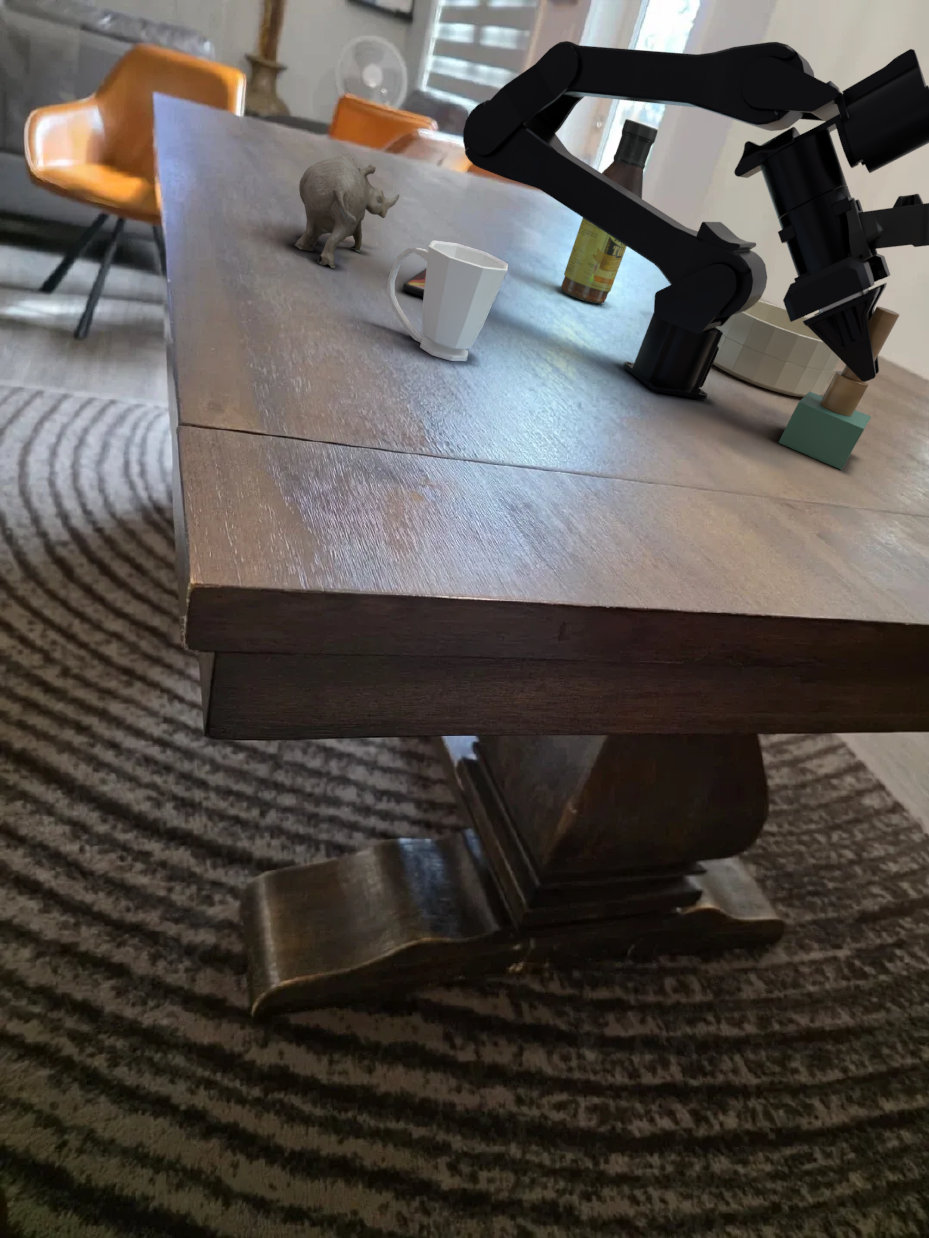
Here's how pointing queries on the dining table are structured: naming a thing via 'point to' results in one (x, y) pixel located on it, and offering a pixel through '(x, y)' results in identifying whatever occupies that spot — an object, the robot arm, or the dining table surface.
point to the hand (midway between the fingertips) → (871, 377)
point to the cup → (451, 296)
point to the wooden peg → (846, 384)
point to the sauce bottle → (593, 247)
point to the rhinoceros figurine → (338, 203)
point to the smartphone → (416, 284)
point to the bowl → (775, 352)
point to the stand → (823, 431)
